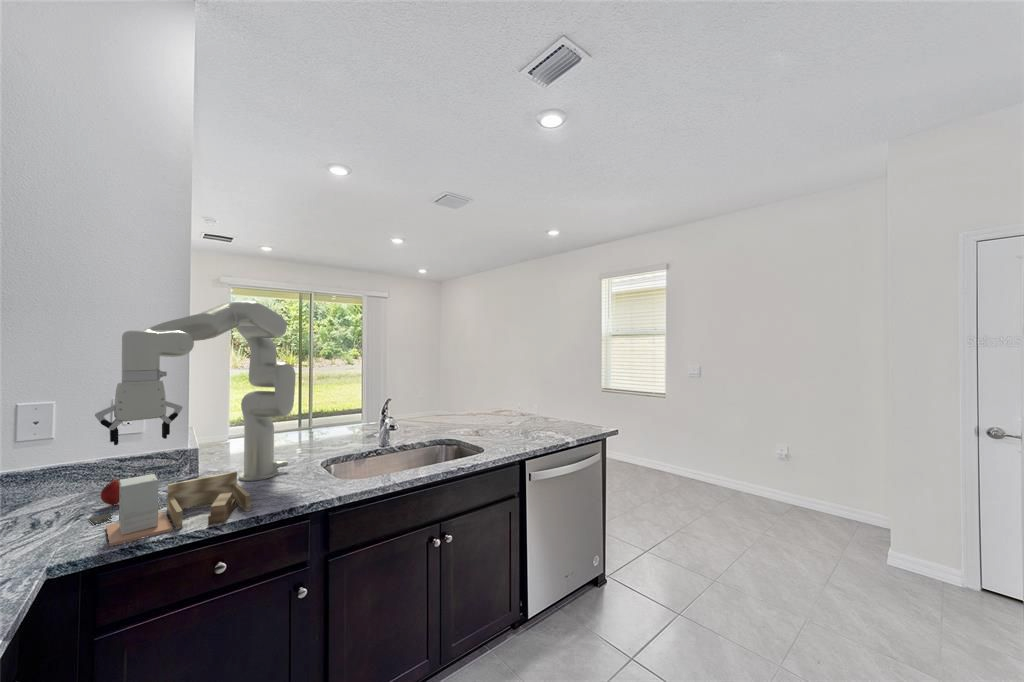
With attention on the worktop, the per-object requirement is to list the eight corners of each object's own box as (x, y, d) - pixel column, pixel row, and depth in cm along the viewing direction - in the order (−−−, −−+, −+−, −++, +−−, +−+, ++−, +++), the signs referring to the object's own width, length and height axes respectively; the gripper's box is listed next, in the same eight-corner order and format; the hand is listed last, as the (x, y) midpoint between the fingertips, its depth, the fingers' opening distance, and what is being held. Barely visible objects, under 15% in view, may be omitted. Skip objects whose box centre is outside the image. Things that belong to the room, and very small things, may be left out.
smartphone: (164, 506, 123) (93, 524, 111) (163, 509, 123) (93, 527, 111) (155, 501, 128) (87, 517, 115) (155, 503, 128) (87, 520, 115)
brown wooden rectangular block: (221, 508, 124) (221, 492, 124) (235, 507, 125) (235, 490, 125) (207, 525, 113) (208, 507, 113) (223, 523, 114) (224, 505, 114)
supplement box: (155, 518, 115) (155, 473, 115) (158, 526, 109) (158, 479, 109) (118, 526, 109) (118, 479, 109) (120, 536, 104) (120, 486, 104)
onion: (110, 510, 122) (110, 483, 122) (95, 508, 123) (95, 481, 123) (132, 502, 128) (132, 476, 128) (117, 501, 129) (117, 475, 129)
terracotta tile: (164, 515, 119) (164, 512, 119) (172, 530, 109) (172, 527, 109) (106, 528, 110) (106, 525, 110) (109, 546, 100) (109, 543, 100)
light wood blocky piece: (235, 495, 134) (235, 471, 134) (250, 510, 123) (250, 483, 123) (167, 511, 121) (167, 484, 121) (176, 529, 110) (177, 499, 110)
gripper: (179, 374, 118) (179, 433, 119) (94, 377, 106) (94, 444, 106) (184, 375, 113) (184, 437, 113) (95, 380, 101) (95, 449, 101)
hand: (140, 440), depth 110 cm, fingers open, 9 cm apart
